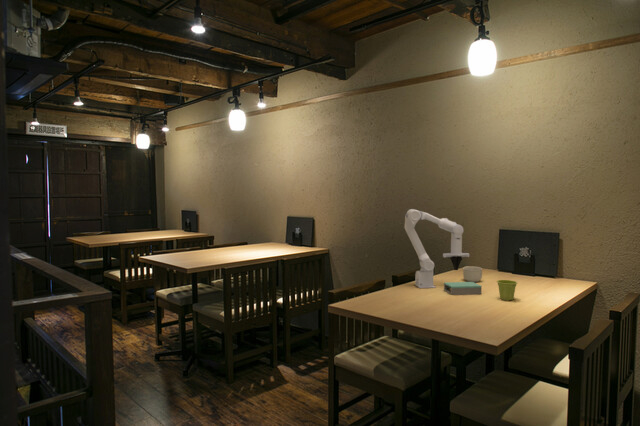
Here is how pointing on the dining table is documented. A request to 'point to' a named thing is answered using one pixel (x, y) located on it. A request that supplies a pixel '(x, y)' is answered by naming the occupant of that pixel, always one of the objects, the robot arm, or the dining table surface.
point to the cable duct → (462, 290)
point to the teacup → (472, 273)
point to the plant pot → (506, 289)
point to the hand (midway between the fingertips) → (455, 269)
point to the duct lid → (462, 285)
